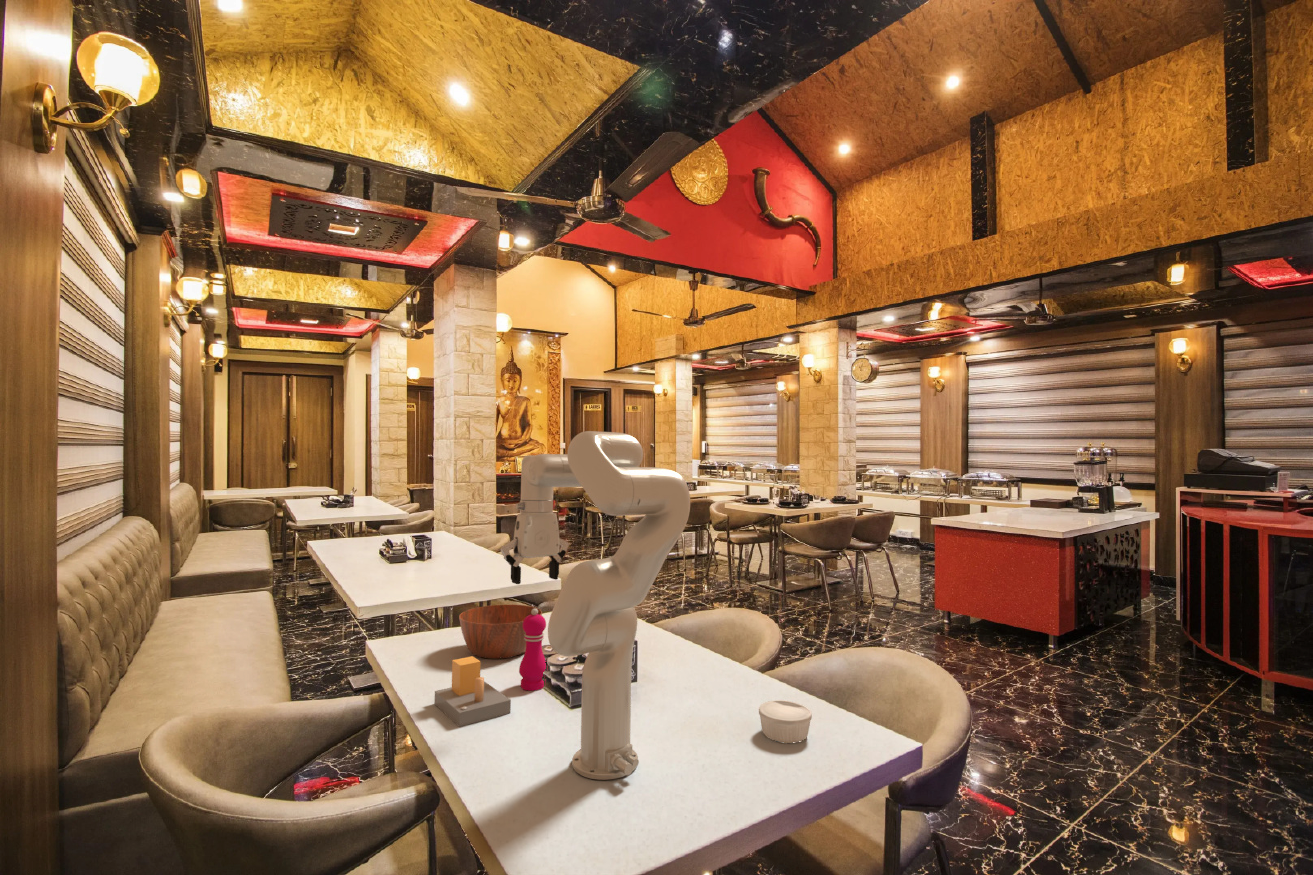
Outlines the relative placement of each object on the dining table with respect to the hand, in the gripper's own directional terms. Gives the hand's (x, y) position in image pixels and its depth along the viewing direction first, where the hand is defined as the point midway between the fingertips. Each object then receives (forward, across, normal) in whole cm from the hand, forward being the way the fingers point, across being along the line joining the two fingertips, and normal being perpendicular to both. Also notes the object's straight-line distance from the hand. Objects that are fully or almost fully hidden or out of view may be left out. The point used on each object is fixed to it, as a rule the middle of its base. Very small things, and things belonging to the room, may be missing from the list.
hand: (535, 580), depth 139 cm
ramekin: (+31, +38, -43) cm, 65 cm away
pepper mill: (+31, +8, +15) cm, 35 cm away
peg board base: (+30, -10, +11) cm, 34 cm away
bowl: (+31, +14, +48) cm, 59 cm away
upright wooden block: (+27, -10, +15) cm, 33 cm away
